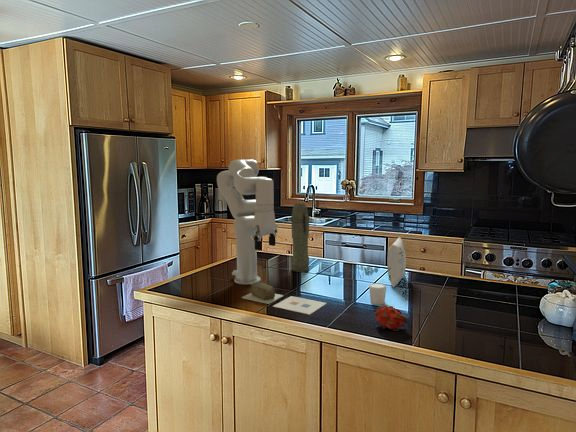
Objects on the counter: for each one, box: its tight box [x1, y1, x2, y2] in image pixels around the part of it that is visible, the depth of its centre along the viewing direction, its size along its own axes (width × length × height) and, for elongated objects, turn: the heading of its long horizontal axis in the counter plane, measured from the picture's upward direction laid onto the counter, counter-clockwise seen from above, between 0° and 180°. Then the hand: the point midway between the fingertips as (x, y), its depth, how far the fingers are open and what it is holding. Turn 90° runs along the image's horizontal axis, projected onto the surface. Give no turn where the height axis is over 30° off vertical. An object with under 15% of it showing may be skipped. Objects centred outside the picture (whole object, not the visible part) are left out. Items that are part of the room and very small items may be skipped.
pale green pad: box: [241, 292, 284, 305], centre depth 177 cm, size 14×11×1 cm
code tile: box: [272, 295, 327, 316], centre depth 167 cm, size 17×14×1 cm
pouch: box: [386, 236, 407, 289], centre depth 194 cm, size 8×19×20 cm, turn 152°
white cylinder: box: [368, 282, 387, 305], centre depth 168 cm, size 7×7×7 cm
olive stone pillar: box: [290, 202, 310, 273], centre depth 216 cm, size 9×12×35 cm
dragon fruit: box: [374, 304, 409, 332], centre depth 143 cm, size 8×8×12 cm
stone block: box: [249, 281, 276, 299], centre depth 176 cm, size 6×12×5 cm, turn 39°
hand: (265, 247), depth 177 cm, fingers open, 9 cm apart
